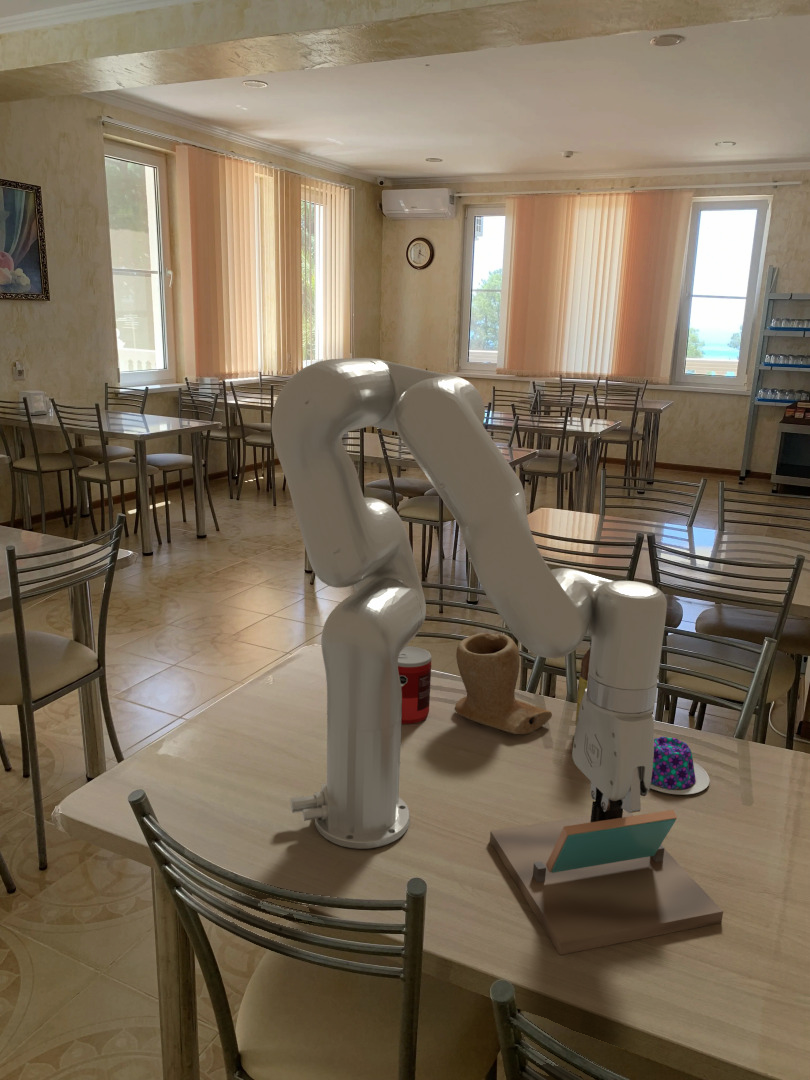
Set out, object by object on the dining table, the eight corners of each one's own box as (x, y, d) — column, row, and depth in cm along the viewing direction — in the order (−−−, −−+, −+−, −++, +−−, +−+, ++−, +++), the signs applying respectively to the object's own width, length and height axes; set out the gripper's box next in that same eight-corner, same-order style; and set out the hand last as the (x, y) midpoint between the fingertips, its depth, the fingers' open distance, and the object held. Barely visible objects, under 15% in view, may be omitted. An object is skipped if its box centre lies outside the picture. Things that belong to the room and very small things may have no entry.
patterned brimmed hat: (618, 753, 126) (621, 723, 125) (695, 757, 126) (699, 727, 125) (635, 796, 115) (639, 764, 114) (720, 801, 114) (725, 768, 113)
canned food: (376, 706, 139) (378, 647, 136) (420, 701, 141) (423, 643, 138) (389, 727, 132) (391, 665, 129) (435, 722, 134) (438, 661, 131)
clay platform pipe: (438, 719, 135) (441, 636, 131) (478, 697, 144) (483, 618, 140) (514, 751, 126) (521, 662, 122) (553, 725, 134) (560, 641, 131)
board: (489, 840, 103) (491, 818, 102) (627, 819, 109) (629, 798, 108) (560, 954, 85) (562, 928, 84) (721, 922, 90) (725, 897, 89)
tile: (563, 826, 89) (567, 836, 88) (672, 809, 93) (678, 818, 92) (546, 864, 94) (549, 874, 93) (650, 847, 98) (655, 856, 97)
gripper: (559, 667, 96) (547, 802, 101) (628, 725, 82) (610, 879, 87) (614, 661, 98) (600, 794, 103) (690, 717, 84) (669, 867, 89)
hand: (604, 832), depth 95 cm, fingers closed
